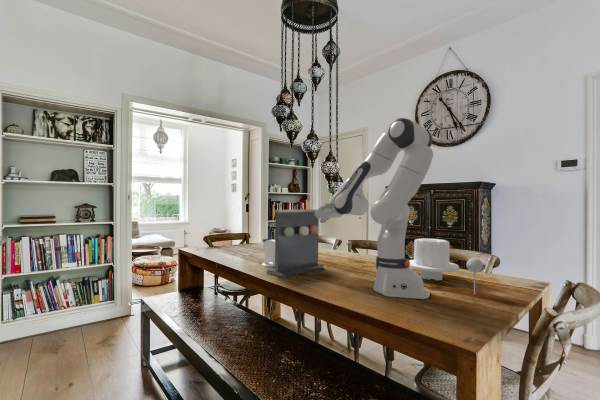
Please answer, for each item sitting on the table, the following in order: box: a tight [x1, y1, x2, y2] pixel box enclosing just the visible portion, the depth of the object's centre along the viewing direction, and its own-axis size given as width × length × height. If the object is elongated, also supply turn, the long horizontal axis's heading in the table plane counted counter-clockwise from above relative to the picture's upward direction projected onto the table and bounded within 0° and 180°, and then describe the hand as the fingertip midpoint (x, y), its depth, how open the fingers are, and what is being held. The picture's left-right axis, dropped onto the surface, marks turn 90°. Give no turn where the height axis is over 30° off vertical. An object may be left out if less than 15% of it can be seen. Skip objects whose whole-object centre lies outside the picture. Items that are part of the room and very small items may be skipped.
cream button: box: [299, 226, 309, 236], centre depth 163 cm, size 3×5×5 cm, turn 137°
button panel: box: [266, 209, 324, 278], centre depth 167 cm, size 12×32×33 cm, turn 137°
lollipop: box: [466, 257, 484, 295], centre depth 126 cm, size 6×6×15 cm
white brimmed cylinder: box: [409, 238, 460, 281], centre depth 155 cm, size 25×25×19 cm
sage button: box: [283, 227, 294, 237], centre depth 157 cm, size 3×5×5 cm, turn 137°
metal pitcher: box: [261, 238, 275, 268], centre depth 182 cm, size 12×11×15 cm
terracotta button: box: [309, 225, 320, 234], centre depth 172 cm, size 3×5×5 cm, turn 137°
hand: (322, 221), depth 162 cm, fingers closed
